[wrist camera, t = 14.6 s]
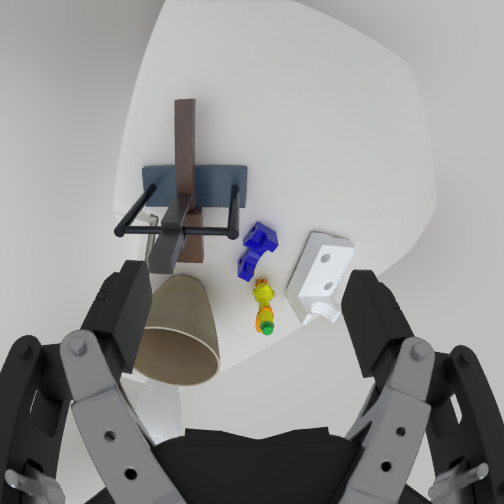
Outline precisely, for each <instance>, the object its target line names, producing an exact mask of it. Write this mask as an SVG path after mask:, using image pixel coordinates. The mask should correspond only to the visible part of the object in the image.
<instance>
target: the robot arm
mask: <svg viewBox="0 0 504 504" xmlns="http://www.w3.org/2000/svg"><path fill="white" fill-rule="evenodd" d="M151 306H152V289H151V284H150V279H149V273H148V268H147V264H146V262H145V261H135V260H126V261H125V263H124V265H123V266H122V268H121V270H120V272H119V273H118V272H114V273H113V274H111V275H110V276H109V277H108V278H107V279H106V280H105V281H104V283H103V284H102V286H101V288H100V292H98V294H97V296H96V298H95V300H94V302H93V304H92V306H91V308H90V310H89V312H88V314H87V316H86V318H85V320H84V322H83V324H82V326H81V328H80V330H76V331H73V332H71V333H69V334H68V335H67V336H66V337H65V338H64V339H63V341H62V342H61V343H59V344H51V345H41V343H40V342H39V341H38V339H37V338H36V337H34V336H32V335H26V336H23V337H21V338H19V339H18V340H16V341H15V343H14V344H13V345H12V347H11V350H10V351H9V354H8V356H7V358H6V360H5V363H4V365H3V368H2V370H1V372H0V504H65V503H64V502H65V495H64V493H63V491H62V489H61V486H60V485H59V483H58V482H57V481H56V472H57V465H58V458H59V452H60V446H61V441H62V436H63V431H64V427H65V422H66V418H67V413H68V409H69V405H70V401H71V400H74V403H73V404H71V409H72V412H73V416H74V418H75V421H76V424H77V426H78V429H79V431H80V434H81V436H82V439H83V441H84V443H85V446H86V448H87V450H88V452H89V455H90V457H91V459H92V461H93V463H94V465H95V467H96V469H97V471H98V473H99V475H100V477H101V478H102V481H103V482H104V484H105V486H106V487H105V488H104V489H103V490H101V491H100V492H99V493H97V494H96V495H95V496H94V497H92V498H91V499H90V500H89V501H87V502H86V503H84V504H504V423H503V420H502V417H501V414H500V412H499V409H498V406H497V403H496V401H495V398H494V395H493V393H492V390H491V388H490V386H489V383H488V381H487V378H486V376H485V374H484V372H483V369H482V367H481V365H480V363H479V361H478V359H477V356H476V355H475V353H474V352H473V351H472V350H471V349H470V348H468V347H466V346H463V345H459V346H456V347H455V348H454V349H453V350H452V351H451V353H450V354H446V353H440V352H434V351H433V348H432V347H431V345H430V344H429V343H428V342H426V341H425V340H423V339H421V338H419V337H415V336H414V334H413V332H412V330H411V328H410V326H409V324H408V322H407V320H406V318H405V316H404V314H403V312H402V310H400V307H399V305H398V303H397V302H396V299H395V297H394V296H393V294H392V292H391V291H390V289H388V288H387V287H386V286H385V285H384V284H383V283H381V282H378V280H377V278H376V276H375V274H374V272H373V271H372V270H353V271H352V272H351V275H350V278H349V281H348V283H347V286H346V289H345V292H344V295H343V298H342V303H341V309H342V314H343V317H344V320H345V322H346V325H347V328H348V331H349V334H350V337H351V340H352V343H353V346H354V349H355V353H356V356H357V359H358V362H359V365H360V368H361V372H362V375H363V378H367V377H374V379H375V383H374V384H373V386H372V387H371V390H370V392H369V394H368V397H367V399H366V401H365V403H364V405H363V407H362V409H361V411H360V413H359V415H358V417H357V419H356V421H355V423H354V424H353V426H352V427H351V429H350V430H349V431H348V433H347V434H346V436H345V437H344V438H343V437H340V436H335V435H330V434H329V432H328V427H320V428H312V429H299V430H293V431H290V432H286V433H283V434H279V435H276V436H272V437H268V438H264V439H258V440H257V439H252V438H247V437H243V436H239V435H235V434H231V433H227V432H223V431H213V430H198V429H187V428H186V429H185V436H179V437H175V438H171V439H168V440H166V441H163V442H161V443H159V444H157V445H156V444H155V442H154V441H153V439H152V437H151V436H150V434H149V433H148V431H147V430H146V428H145V427H144V425H143V424H142V422H141V420H140V419H139V417H138V415H137V413H136V412H135V410H134V408H133V406H132V404H131V402H130V400H129V399H128V397H127V395H126V393H125V391H124V389H123V387H122V385H121V383H120V377H121V374H122V372H123V373H129V374H132V371H133V367H134V363H135V360H136V356H137V352H138V349H139V345H140V342H141V338H142V335H143V332H144V328H145V325H146V322H147V319H148V315H149V312H150V309H151ZM36 390H37V392H36ZM35 393H36V395H35ZM453 394H455V395H456V398H457V401H458V403H459V406H460V409H461V413H462V419H461V422H460V424H458V421H457V417H456V414H455V411H454V408H453V405H452V402H451V399H450V397H451V396H453ZM34 396H35V399H34ZM33 399H34V402H33ZM32 402H33V405H32ZM31 406H32V409H31ZM30 409H31V413H30ZM425 431H426V435H427V439H428V443H429V447H430V452H431V456H432V461H433V466H434V471H435V476H436V479H435V481H434V483H433V486H432V487H431V488H430V489H429V491H428V496H429V497H430V498H432V499H431V502H430V501H429V500H428V499H426V498H425V497H423V496H422V495H421V494H419V493H418V492H417V491H415V490H414V489H413V488H411V487H410V486H409V485H407V484H406V481H407V479H408V477H409V475H410V472H411V470H412V467H413V464H414V462H415V459H416V456H417V454H418V451H419V448H420V445H421V442H422V439H423V436H424V433H425Z"/></svg>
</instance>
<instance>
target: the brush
mask: <svg viewBox="0 0 504 504" xmlns="http://www.w3.org/2000/svg"><path fill="white" fill-rule="evenodd" d="M175 165H176V188H177V194H176V196H175V198H174V199H173V201H172V203H171V205H170V207H169V208H168V210H167V212H166V214H165V216H164V217H163V219H162V221H161V227H162V230H161V232H160V234H159V236H158V238H157V240H156V242H155V244H154V246H153V248H152V250H151V253H150V255H149V257H148V262H149V268H150V273H155V274H173V271H174V267H175V264H176V262H186V263H203V259H204V247H203V235H183V227H203V218H202V206H195V205H196V191H195V99H178V100H175Z"/></svg>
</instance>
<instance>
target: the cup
mask: <svg viewBox="0 0 504 504" xmlns="http://www.w3.org/2000/svg"><path fill="white" fill-rule="evenodd" d="M180 407H181V406H180V396H179V389H178V386H173V385H168V384H164V383H160V382H157V381H154V380H152V379H148V381H147V382H146V384H145V386H144V389H143V391H142V393H141V395H140V397H139V400H138V403H137V406H136V410H135V412H136V413H137V415H138V417H139V419H140V420H141V422H142V424H143V425H144V427H145V428H146V430H147V431H148V433H149V434H150V436H151V437H152V439H153V441H154V442H155V444H156V445H157V444H159V443H161V442H163V441H166V440H168V439H171V438H175V437H178V434H179V427H180V411H181V408H180Z"/></svg>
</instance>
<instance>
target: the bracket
mask: <svg viewBox="0 0 504 504" xmlns="http://www.w3.org/2000/svg"><path fill="white" fill-rule="evenodd" d="M355 250H356V247H355V246H354V245H353V244H352V243H351V242H350V241H349V240H348V239H341V238H333V237H331V236H330V234H323V233H314V232H312V233H311V235H310V238H309V240H308V242H307V245H306V247H305V249H304V252H303V254H302V256H301V259H300V261H299V263H298V265H297V268H296V270H295V272H294V274H293V277H292V279H291V281H290V283H289V286H288V288H287V290H286V292H285V295H286V297H287V299H288V301H289V303H290V305H291V306H292V308H293V310H294V312H295V314H296V316H297V318H298V320H299V322H300V323H301V325H306V324H307V322H308V320H309V319H310V317H311V315H312V313H319V314H321V315H323V316H325V317H326V318H327V319H328V320H329V321H330V322H335V321H336V319H337V317H338V316H339V314H340V313H341V310H340V309H339V308H338V306H337V304H336V303H335V301H334V300H333V298H332V297H331V294H332V293H333V291H334V289H335V287H336V285H337V284H338V282H339V280H340V278H341V276H342V275H343V273H344V271H345V269H346V267H347V265H348V263H349V261H350V259H351V258H352V256H353V254H354V252H355Z"/></svg>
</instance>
